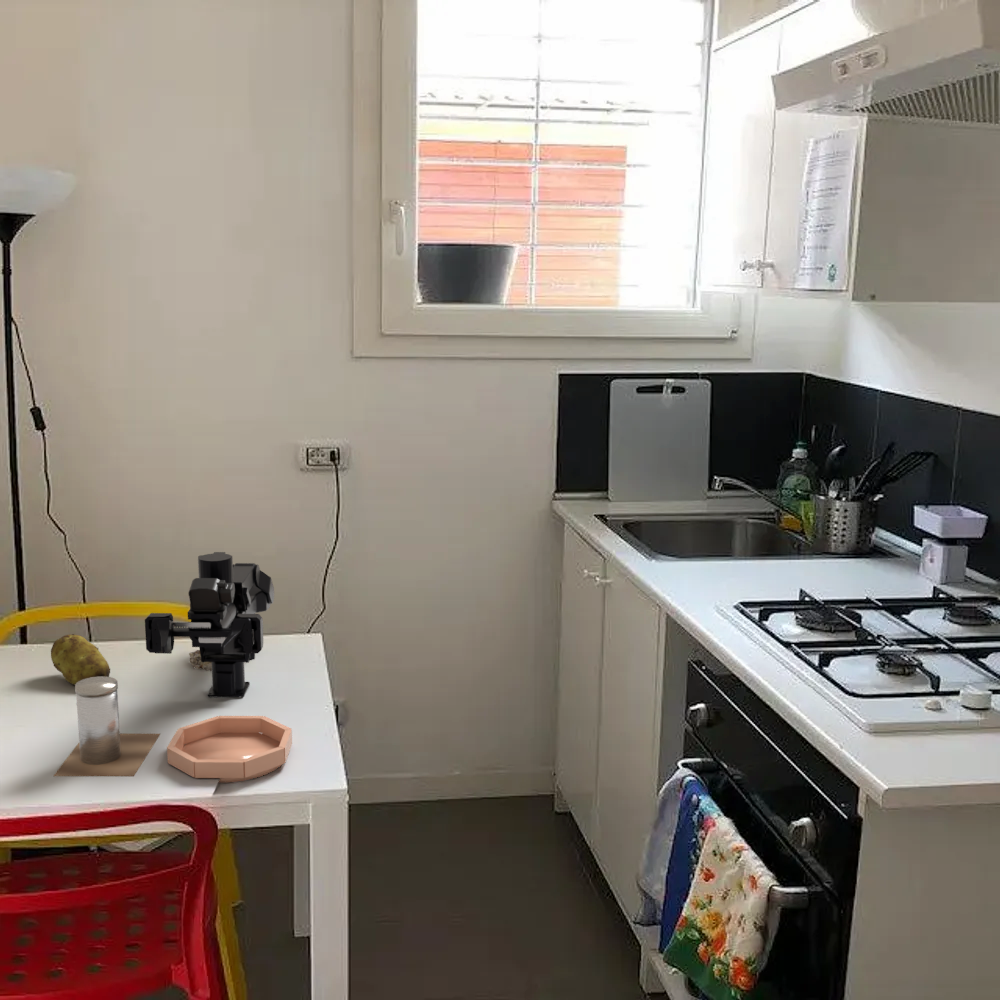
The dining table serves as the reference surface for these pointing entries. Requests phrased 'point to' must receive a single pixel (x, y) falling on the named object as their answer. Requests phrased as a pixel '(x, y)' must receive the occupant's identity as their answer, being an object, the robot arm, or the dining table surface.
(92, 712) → the polished metal canister
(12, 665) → the dining table surface
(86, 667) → the potato
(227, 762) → the terracotta bowl
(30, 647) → the dining table surface
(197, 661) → the mineral rock
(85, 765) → the walnut board
